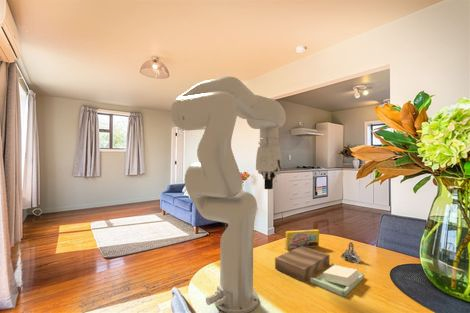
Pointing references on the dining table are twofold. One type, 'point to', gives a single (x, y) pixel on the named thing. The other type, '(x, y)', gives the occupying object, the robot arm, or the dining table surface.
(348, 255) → the house of cards
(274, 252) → the dining table surface
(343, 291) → the tray
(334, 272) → the tile
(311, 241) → the candy box
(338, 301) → the dining table surface
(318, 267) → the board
